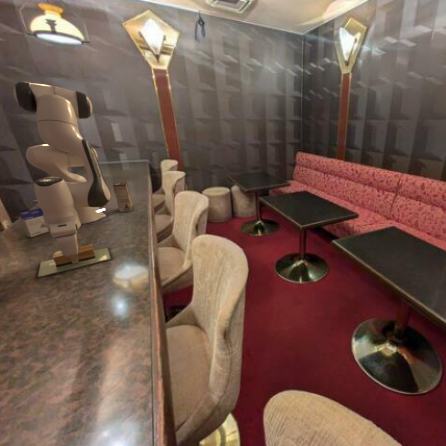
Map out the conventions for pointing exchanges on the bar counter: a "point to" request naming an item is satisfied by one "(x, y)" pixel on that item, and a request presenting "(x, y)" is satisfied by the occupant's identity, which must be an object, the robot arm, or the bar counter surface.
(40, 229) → the ink box
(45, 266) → the chalk board
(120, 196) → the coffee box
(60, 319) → the bar counter surface
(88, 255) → the eraser
